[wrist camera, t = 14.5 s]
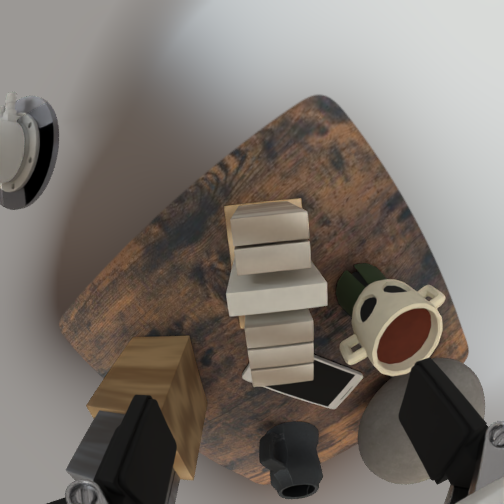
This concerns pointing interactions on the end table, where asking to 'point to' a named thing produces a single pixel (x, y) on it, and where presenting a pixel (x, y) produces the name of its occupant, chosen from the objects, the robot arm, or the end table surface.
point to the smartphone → (319, 384)
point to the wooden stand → (158, 387)
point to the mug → (292, 459)
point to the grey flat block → (275, 291)
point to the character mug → (388, 320)
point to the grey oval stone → (393, 434)
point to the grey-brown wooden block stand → (273, 260)
